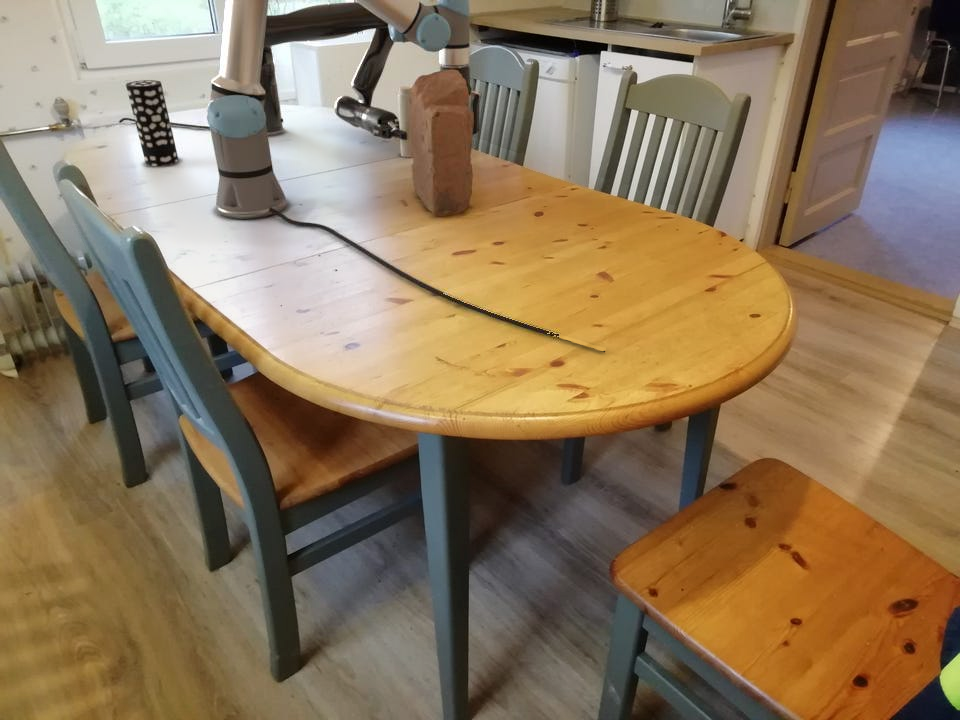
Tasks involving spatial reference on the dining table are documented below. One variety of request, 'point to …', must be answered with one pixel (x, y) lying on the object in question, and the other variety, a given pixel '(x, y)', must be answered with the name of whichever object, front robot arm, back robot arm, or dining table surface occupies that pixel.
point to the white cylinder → (405, 119)
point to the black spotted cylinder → (152, 122)
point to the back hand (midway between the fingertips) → (412, 134)
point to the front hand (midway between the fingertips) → (456, 159)
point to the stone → (441, 141)
